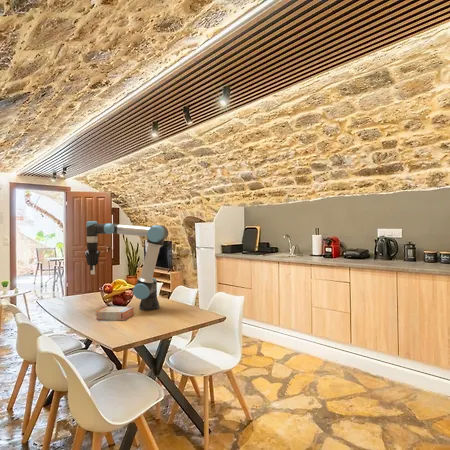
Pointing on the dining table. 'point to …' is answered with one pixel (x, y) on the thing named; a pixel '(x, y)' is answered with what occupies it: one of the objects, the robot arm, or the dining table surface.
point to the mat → (113, 320)
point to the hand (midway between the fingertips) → (92, 274)
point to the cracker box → (114, 313)
